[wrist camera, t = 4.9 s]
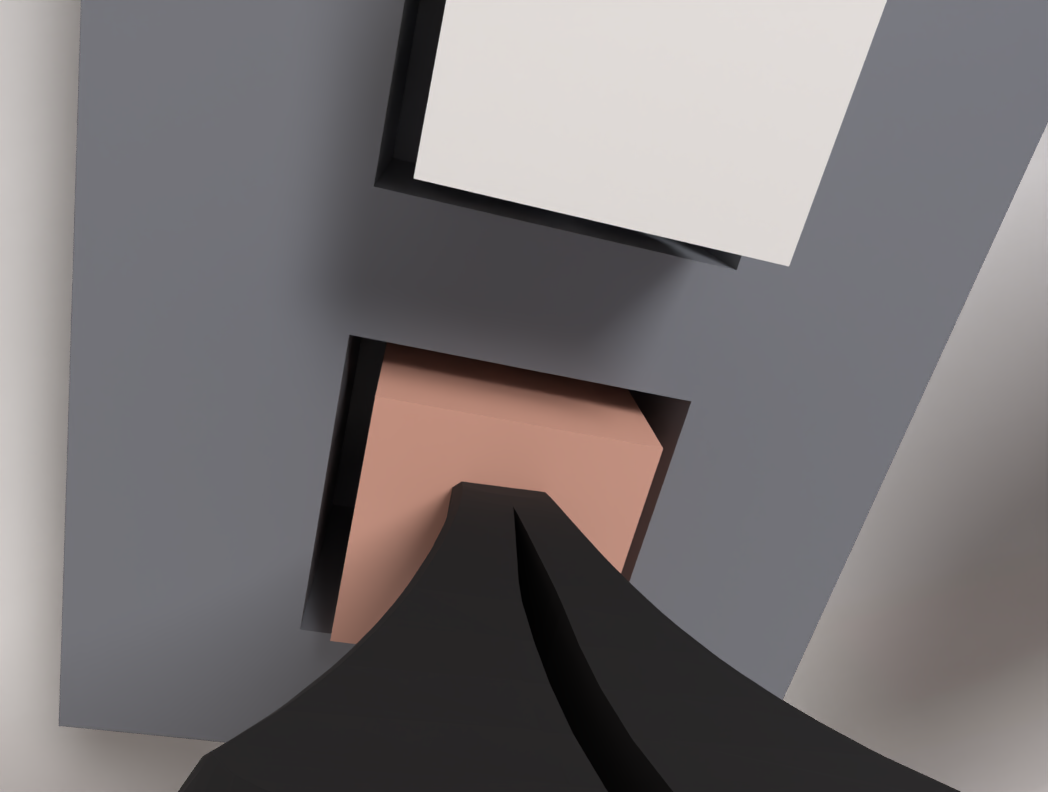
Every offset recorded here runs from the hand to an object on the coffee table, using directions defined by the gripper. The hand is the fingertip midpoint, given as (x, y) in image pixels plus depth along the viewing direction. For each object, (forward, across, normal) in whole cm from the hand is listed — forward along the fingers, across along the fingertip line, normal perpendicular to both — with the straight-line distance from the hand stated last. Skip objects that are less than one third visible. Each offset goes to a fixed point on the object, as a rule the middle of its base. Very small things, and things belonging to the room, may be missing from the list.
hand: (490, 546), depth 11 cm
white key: (+1, 0, -7) cm, 7 cm away
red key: (+3, 0, 0) cm, 3 cm away
